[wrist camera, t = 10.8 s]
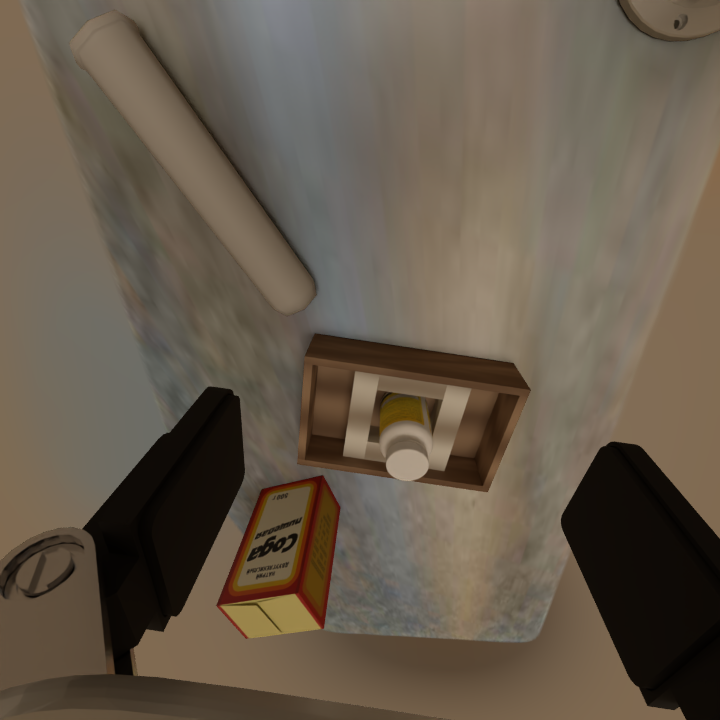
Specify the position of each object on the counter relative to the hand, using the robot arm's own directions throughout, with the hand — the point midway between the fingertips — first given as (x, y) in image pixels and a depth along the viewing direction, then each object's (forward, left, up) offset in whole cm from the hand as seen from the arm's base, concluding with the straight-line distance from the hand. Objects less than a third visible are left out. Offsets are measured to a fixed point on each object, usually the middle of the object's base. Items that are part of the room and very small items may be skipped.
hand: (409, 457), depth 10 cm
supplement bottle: (+17, +4, -28) cm, 33 cm away
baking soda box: (+36, -7, -29) cm, 47 cm away
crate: (+17, +4, -29) cm, 34 cm away
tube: (-3, -16, -29) cm, 33 cm away
